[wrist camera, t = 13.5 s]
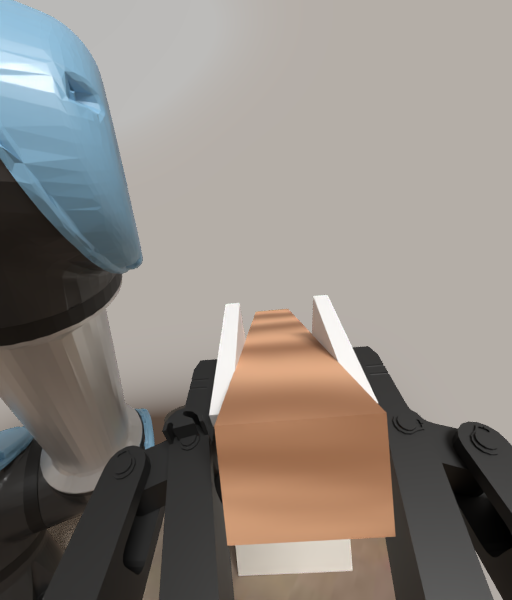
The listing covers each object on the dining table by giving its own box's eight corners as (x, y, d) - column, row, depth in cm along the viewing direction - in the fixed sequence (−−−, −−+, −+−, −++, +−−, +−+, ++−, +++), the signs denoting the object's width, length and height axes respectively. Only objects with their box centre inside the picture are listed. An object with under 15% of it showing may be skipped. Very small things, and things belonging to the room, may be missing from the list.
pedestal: (352, 570, 35) (336, 359, 34) (238, 575, 36) (217, 368, 34) (323, 474, 53) (311, 333, 52) (247, 479, 54) (233, 340, 52)
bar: (395, 536, 6) (386, 413, 6) (227, 546, 6) (214, 425, 6) (289, 332, 32) (287, 308, 32) (258, 335, 32) (256, 311, 32)
